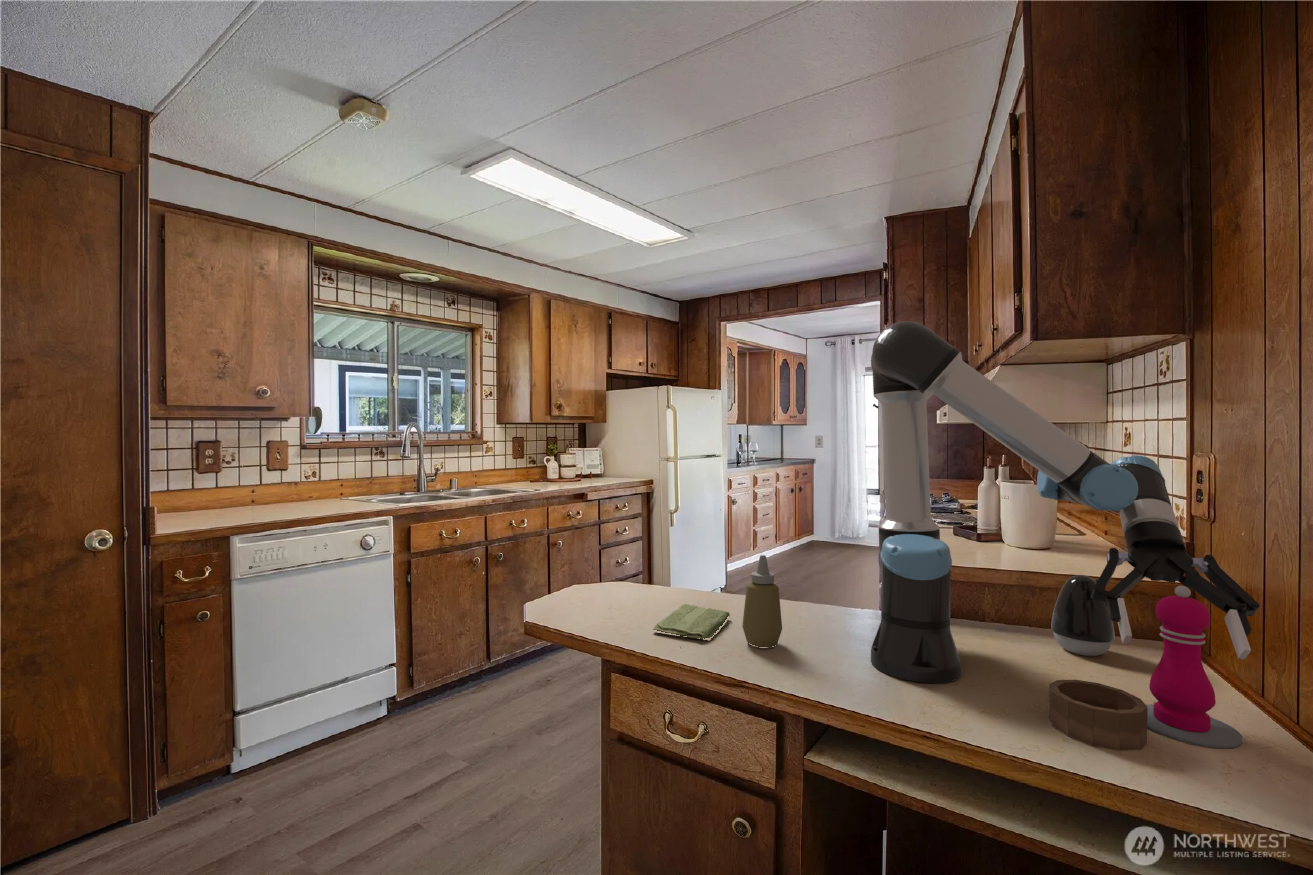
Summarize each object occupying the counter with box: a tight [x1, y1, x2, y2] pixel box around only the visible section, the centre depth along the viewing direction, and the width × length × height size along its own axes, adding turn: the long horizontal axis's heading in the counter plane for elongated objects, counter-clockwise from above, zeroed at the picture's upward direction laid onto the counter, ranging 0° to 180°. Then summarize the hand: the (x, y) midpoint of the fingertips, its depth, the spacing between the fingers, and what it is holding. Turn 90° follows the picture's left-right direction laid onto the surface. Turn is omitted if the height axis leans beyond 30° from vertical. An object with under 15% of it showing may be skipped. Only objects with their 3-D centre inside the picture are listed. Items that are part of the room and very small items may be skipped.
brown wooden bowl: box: [1048, 679, 1148, 751], centre depth 84 cm, size 11×11×5 cm
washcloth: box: [652, 603, 731, 639], centre depth 129 cm, size 13×18×3 cm
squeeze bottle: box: [742, 554, 783, 647], centre depth 118 cm, size 8×8×18 cm
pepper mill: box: [1149, 585, 1217, 732], centre depth 86 cm, size 7×7×20 cm
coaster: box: [1145, 704, 1244, 750], centre depth 85 cm, size 12×12×1 cm
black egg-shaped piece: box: [1050, 574, 1115, 657], centre depth 116 cm, size 10×10×15 cm
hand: (1183, 647), depth 87 cm, fingers open, 13 cm apart
